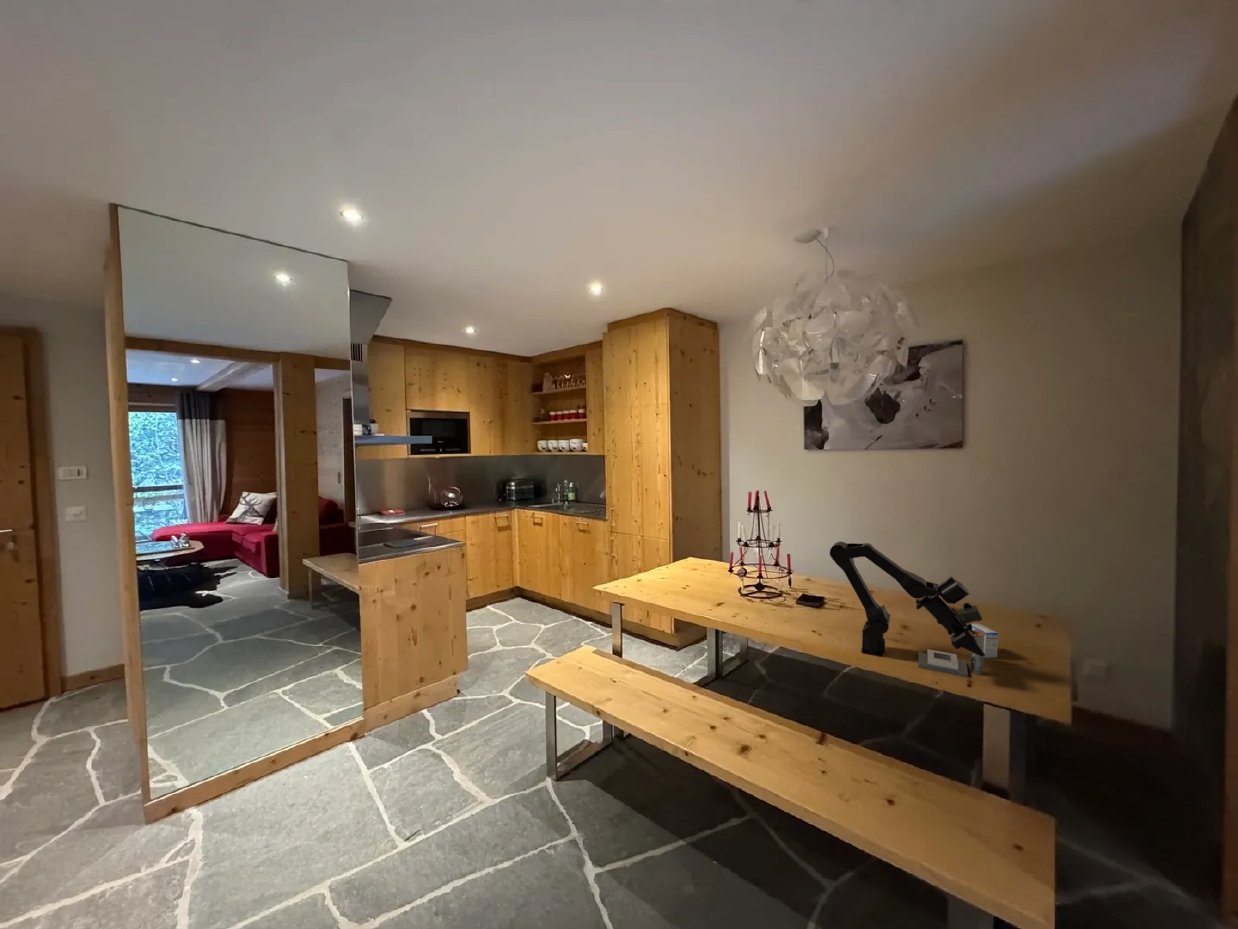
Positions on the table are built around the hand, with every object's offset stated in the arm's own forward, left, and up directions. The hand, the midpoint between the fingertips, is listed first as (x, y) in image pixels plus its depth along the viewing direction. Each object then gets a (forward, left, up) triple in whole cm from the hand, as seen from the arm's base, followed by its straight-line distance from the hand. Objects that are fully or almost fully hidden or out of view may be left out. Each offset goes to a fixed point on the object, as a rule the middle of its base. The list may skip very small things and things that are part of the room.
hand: (982, 653), depth 154 cm
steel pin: (-1, 0, -7) cm, 7 cm away
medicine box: (+2, +17, -7) cm, 19 cm away
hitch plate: (-10, 0, -7) cm, 12 cm away
